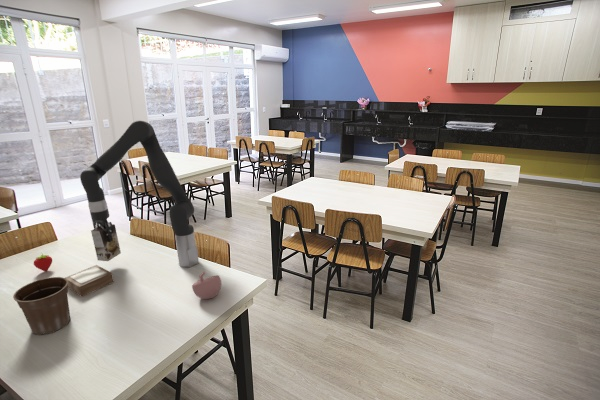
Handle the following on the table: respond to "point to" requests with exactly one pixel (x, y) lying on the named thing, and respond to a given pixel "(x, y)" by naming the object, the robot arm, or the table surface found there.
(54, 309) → the plant pot
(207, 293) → the pink apple
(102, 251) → the coffee box
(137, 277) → the table surface
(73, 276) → the plinth
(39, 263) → the strawberry
